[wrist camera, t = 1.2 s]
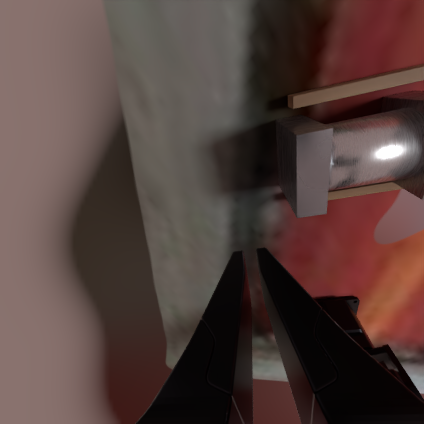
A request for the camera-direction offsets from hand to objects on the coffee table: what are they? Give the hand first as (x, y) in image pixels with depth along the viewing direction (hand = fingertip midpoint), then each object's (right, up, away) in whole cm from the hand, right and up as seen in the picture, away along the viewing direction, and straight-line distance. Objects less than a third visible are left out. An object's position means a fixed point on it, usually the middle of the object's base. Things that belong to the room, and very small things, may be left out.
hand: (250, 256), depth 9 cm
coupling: (+9, +8, +9) cm, 15 cm away
